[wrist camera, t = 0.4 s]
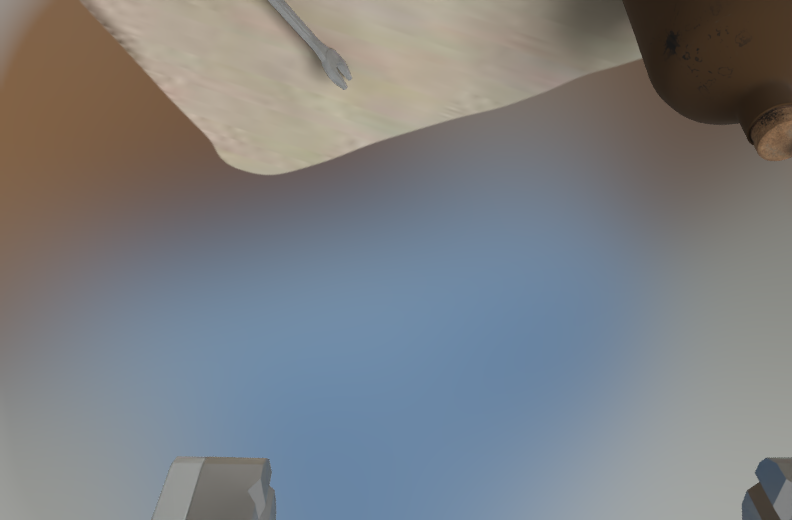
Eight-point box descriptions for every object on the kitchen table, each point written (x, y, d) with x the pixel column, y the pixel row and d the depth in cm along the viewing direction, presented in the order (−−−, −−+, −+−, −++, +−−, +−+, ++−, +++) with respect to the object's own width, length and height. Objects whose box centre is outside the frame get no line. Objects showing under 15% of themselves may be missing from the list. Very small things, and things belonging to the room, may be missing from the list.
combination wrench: (172, -83, 49) (342, 100, 62) (184, -93, 49) (353, 93, 61) (182, -103, 52) (343, 76, 64) (194, -114, 51) (354, 69, 64)
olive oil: (602, 12, 60) (686, 219, 44) (596, -108, 52) (697, 91, 36) (728, -20, 58) (863, 185, 42) (742, -151, 50) (917, 41, 34)
